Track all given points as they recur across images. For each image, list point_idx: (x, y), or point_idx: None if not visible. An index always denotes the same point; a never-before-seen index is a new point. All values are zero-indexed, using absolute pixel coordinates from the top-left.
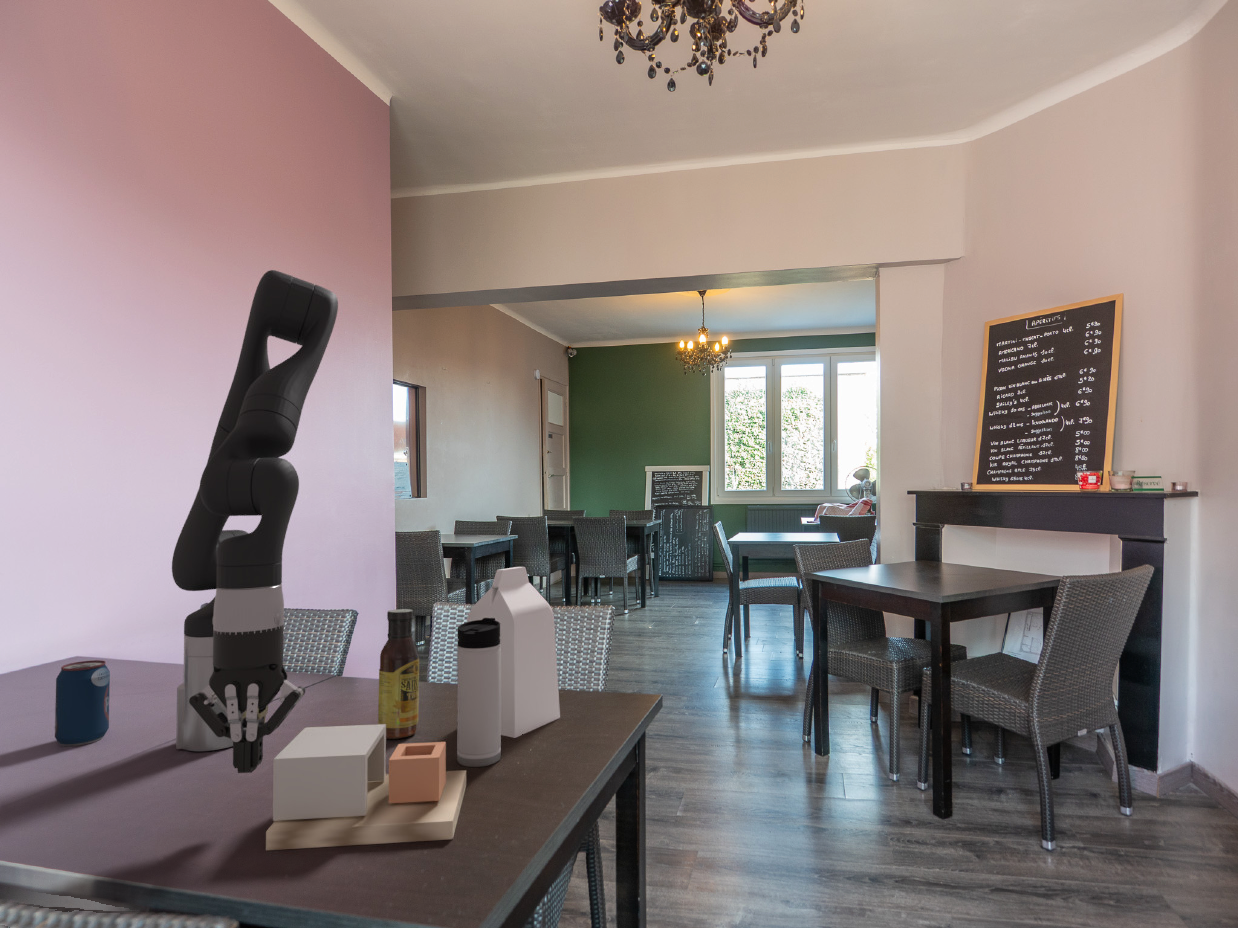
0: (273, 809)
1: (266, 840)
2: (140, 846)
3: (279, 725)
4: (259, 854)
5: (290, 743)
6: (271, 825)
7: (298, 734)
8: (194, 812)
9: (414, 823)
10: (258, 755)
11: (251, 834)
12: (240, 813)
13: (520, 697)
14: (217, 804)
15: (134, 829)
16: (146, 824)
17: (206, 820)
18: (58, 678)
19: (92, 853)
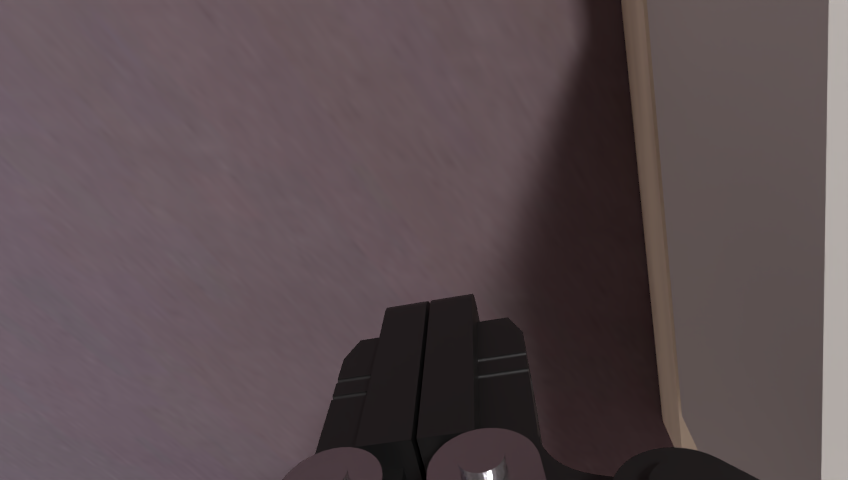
0: (698, 447)
1: (673, 442)
2: (175, 411)
3: (734, 472)
4: (651, 442)
5: (835, 441)
6: (680, 422)
7: (829, 199)
8: (126, 136)
9: None
10: (540, 434)
11: (535, 313)
12: (356, 130)
13: None
14: (162, 37)
15: (23, 300)
16: (27, 259)
17: (249, 209)
18: None
19: (60, 456)
